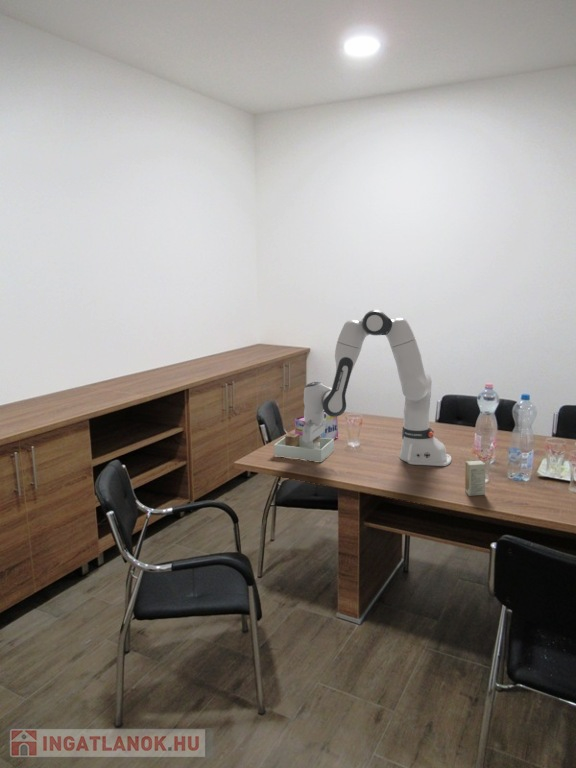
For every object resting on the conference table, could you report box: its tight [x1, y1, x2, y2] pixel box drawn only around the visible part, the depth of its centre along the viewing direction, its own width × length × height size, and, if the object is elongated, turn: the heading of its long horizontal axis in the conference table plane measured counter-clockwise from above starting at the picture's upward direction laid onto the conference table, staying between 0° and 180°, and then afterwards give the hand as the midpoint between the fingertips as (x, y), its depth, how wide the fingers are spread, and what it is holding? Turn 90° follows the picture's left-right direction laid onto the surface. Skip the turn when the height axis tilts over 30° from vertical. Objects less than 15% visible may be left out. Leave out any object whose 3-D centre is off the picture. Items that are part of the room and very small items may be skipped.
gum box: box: [294, 410, 339, 439], centre depth 266 cm, size 24×8×14 cm, turn 130°
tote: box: [273, 436, 335, 463], centre depth 248 cm, size 23×17×6 cm
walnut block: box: [284, 432, 300, 447], centre depth 250 cm, size 5×5×8 cm
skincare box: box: [464, 460, 487, 497], centre depth 198 cm, size 6×4×12 cm
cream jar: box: [312, 438, 320, 449], centre depth 245 cm, size 5×5×7 cm
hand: (314, 446), depth 245 cm, fingers open, 6 cm apart
